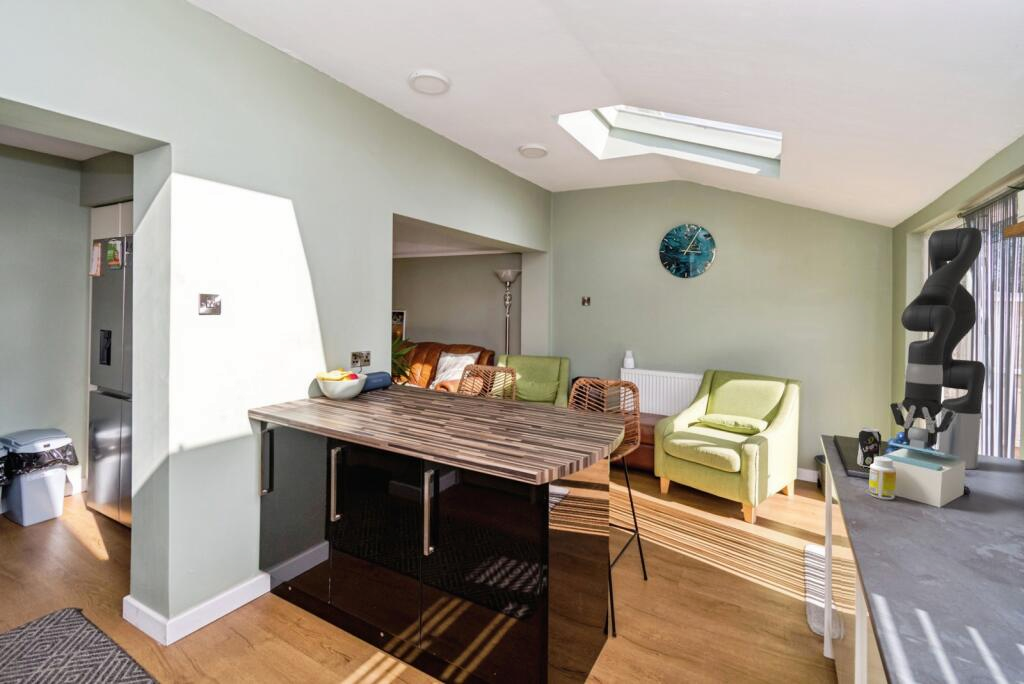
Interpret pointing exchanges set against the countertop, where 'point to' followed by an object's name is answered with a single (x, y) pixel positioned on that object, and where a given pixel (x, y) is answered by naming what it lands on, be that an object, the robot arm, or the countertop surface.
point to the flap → (920, 441)
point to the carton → (927, 477)
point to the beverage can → (868, 446)
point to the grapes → (902, 441)
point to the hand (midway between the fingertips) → (919, 443)
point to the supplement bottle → (882, 478)
